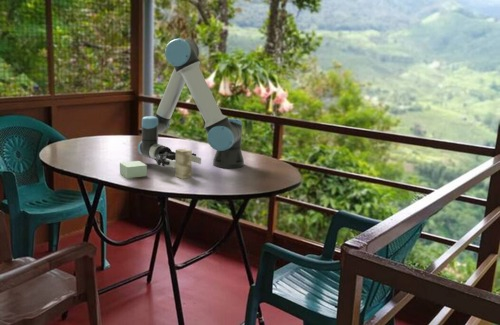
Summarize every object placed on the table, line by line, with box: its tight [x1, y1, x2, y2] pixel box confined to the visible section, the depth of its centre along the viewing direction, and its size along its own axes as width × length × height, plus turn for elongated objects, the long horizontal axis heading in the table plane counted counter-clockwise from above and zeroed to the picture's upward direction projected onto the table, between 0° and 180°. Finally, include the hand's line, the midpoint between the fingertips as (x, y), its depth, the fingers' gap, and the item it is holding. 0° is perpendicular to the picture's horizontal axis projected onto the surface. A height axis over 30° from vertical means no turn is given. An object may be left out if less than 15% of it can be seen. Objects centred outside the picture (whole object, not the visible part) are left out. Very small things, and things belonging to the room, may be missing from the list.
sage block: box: [119, 160, 148, 179], centre depth 226 cm, size 9×9×5 cm
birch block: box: [174, 148, 193, 180], centre depth 225 cm, size 5×5×12 cm
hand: (187, 162), depth 223 cm, fingers open, 13 cm apart
